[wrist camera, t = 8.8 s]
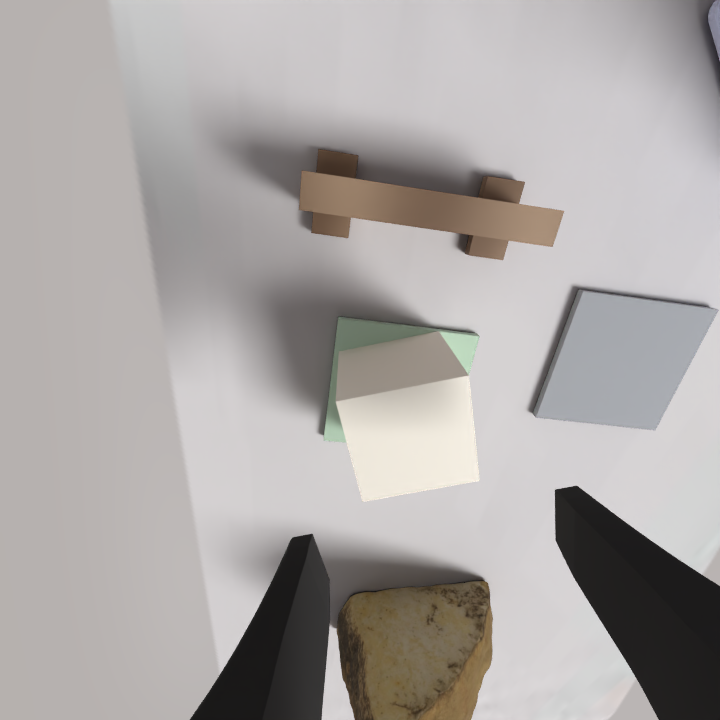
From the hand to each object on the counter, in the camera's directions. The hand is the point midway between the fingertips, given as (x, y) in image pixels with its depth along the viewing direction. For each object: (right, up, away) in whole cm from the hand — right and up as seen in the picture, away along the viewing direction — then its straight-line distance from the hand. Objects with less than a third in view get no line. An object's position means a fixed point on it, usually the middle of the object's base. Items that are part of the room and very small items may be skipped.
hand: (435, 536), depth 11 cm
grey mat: (+11, +5, +9) cm, 15 cm away
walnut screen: (0, +12, +5) cm, 13 cm away
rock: (+2, -12, +16) cm, 20 cm away
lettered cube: (0, +4, +8) cm, 9 cm away
